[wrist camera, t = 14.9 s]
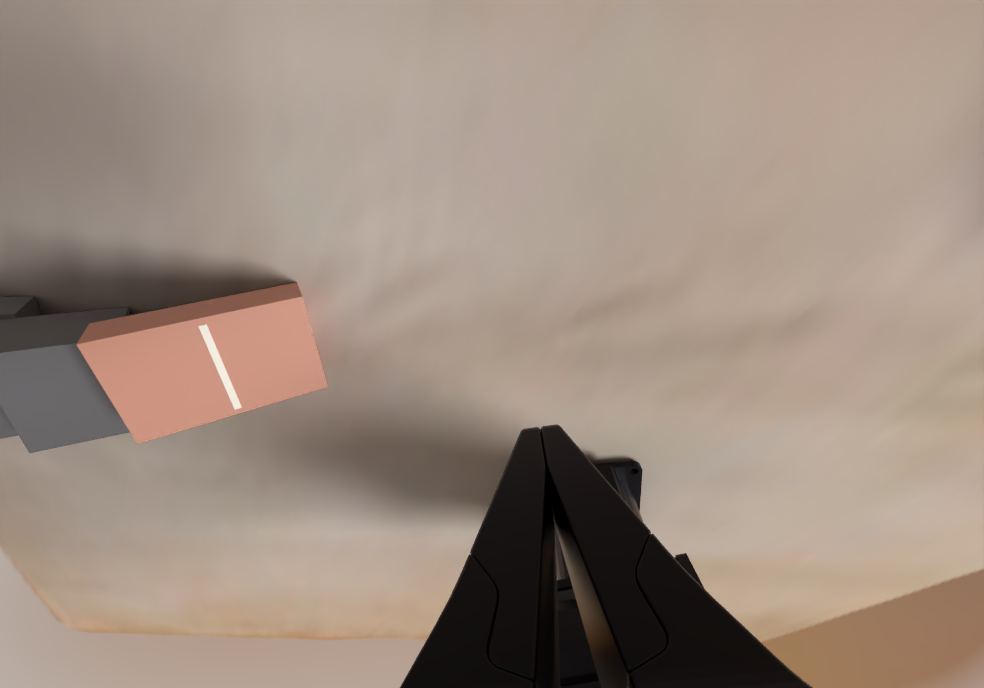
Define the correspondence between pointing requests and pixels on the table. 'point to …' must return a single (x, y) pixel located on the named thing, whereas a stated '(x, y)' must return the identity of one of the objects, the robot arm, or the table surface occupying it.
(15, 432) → the domino
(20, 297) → the domino
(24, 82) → the table surface
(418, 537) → the table surface
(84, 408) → the domino
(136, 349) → the domino
